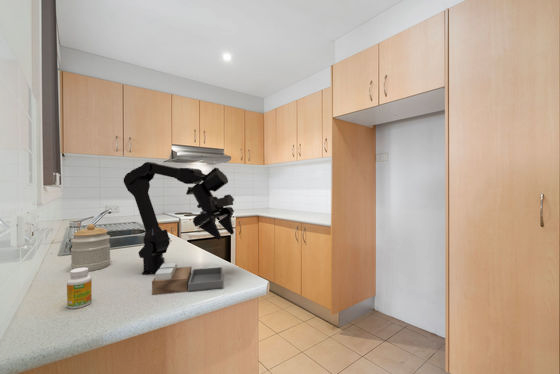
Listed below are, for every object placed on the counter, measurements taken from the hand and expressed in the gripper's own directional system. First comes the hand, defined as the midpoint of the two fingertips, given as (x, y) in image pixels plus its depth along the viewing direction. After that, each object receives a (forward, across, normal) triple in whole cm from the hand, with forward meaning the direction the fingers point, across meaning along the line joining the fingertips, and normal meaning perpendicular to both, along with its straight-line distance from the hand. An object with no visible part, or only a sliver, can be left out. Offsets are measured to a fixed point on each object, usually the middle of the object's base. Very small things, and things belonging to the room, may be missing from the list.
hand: (226, 236), depth 90 cm
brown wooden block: (+5, -10, +20) cm, 23 cm away
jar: (-19, -2, +58) cm, 62 cm away
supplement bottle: (-4, -28, +34) cm, 44 cm away
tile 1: (0, -8, +20) cm, 22 cm away
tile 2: (+1, -14, +18) cm, 23 cm away
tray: (+10, -4, +12) cm, 16 cm away
